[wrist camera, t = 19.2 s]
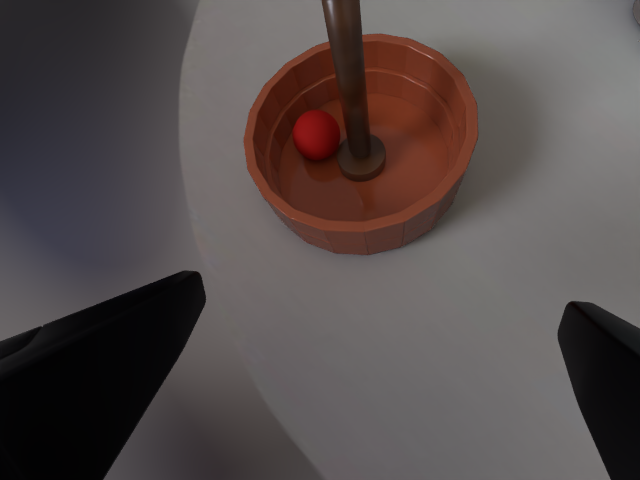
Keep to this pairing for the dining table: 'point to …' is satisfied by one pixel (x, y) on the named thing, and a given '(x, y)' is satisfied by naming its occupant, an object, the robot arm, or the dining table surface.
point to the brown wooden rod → (352, 92)
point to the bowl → (385, 122)
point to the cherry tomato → (316, 134)
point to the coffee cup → (637, 10)
